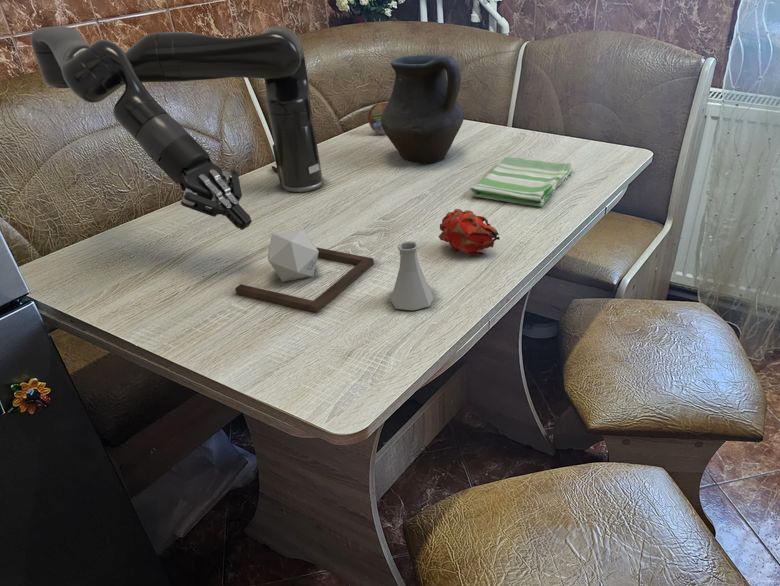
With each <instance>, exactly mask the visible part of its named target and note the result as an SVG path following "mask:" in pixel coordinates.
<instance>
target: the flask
mask: <svg viewBox="0 0 780 586" xmlns="http://www.w3.org/2000/svg"><path fill="white" fill-rule="evenodd" d="M418 248H419V244H418V243H417V242H416V241H413V240H412V241H411V240H406V241H402V242H399V243H398V245H397V249H398V251H399V257H400V258H399V268H398V271H397V276H396V280H395V283H394V287H393V290H392V294H391V297H390V302H391V304H392V305H393V306H394V308H395V309H396V310H405V311H416V310H421V309H425V308H428V307H431V304H432V303H433V301H434V299H435V296H434V293H433V291H432V290H431V287H430V286H429V284H428V282H427V279H426V277H425V275H424V272H423V270H422V268H421V266H420V262H419V258H418V251H417V250H418Z"/></svg>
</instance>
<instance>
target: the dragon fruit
mask: <svg viewBox="0 0 780 586" xmlns="http://www.w3.org/2000/svg"><path fill="white" fill-rule="evenodd" d="M439 230H440V231H441V233H440V234H439V235H438V238H439V240H440V241H443V242H446V243H448V244H449V246H450V247H451V250H452V251H453V253H454V254H455V255H458V254H459V253H460V251H461V252H463V253H466V254H467V255H470V256H472V257H480V256H483V255H486V253H485V252H483V250H485V249H488V248H494V245H495V242H496V241H500V239H501V238H500V236H499V235H500V233H499V232H498V231H497V229H496V228H495V227H493V226H492V225H491V224H490V223H489V220H488V219H487V218H486V217H484V216H483V215H476V214H475V213H474V211H472V210H467V209H466V210H464V211H462V209H461V208H455V209H454V210H453V211H451V212H450V211H448V212H447V213H446V215H445V216H444V217H443V218H442V220H441V223H440V224H439ZM481 251H482V252H481Z"/></svg>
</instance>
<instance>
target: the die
mask: <svg viewBox="0 0 780 586" xmlns="http://www.w3.org/2000/svg"><path fill="white" fill-rule="evenodd" d="M317 248H318V247H317ZM317 248H316V245H315V244H314V242H313V241H312V240H311V238H310V237H309V235H308V233H307V232H306V230H305V229H304V228H303V227H300V228H294V229H288V230H282V231H278V232H277V231H276V232H272V233H271V236H270V242H269V246H268V253H267V261H268V264H270V266H271V267H272V268H273V270H274V271H275V273H276V274H277V276H278V277H279V278H280V281H282V282H283V283H285V282H290V281H296V280H301V279H306V278H307V279H308V278H311V277H314V274H315V270H316V266H317V262H318V258H319V257H318V253H319V251H318V250H317Z"/></svg>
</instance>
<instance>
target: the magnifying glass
mask: <svg viewBox="0 0 780 586" xmlns="http://www.w3.org/2000/svg"><path fill="white" fill-rule="evenodd" d="M387 103H388V101H383V102H378V103H375V104H374V105H373V106H372V107H371V108H370V109H369V111H368V113H367V114H368V115H367V120H368V125H369V126H370V128H371V129H372V130H373V131H374V132H375V133H377V134H378V135H383V136H387V135H386V134H385V132H384V130H383V128H382V125H381V116H382V113H383V111H384V109H385V107H386V105H387Z"/></svg>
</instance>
